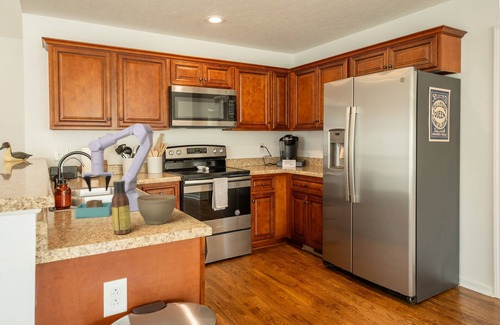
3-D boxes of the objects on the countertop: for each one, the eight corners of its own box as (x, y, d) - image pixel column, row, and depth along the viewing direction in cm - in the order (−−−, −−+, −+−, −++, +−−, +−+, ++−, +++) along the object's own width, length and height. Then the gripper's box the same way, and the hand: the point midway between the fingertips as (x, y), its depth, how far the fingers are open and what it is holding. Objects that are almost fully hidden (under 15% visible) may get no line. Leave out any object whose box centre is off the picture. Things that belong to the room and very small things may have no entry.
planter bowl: (136, 228, 136) (135, 201, 135) (138, 219, 152) (137, 194, 151) (177, 225, 140) (177, 199, 140) (175, 217, 156) (175, 193, 155)
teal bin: (112, 211, 168) (111, 202, 168) (109, 216, 157) (108, 206, 156) (81, 213, 164) (80, 203, 164) (75, 218, 153) (75, 208, 153)
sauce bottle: (133, 230, 132) (131, 179, 131) (127, 235, 126) (126, 181, 125) (115, 230, 132) (114, 179, 131) (109, 235, 126) (108, 181, 124)
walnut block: (102, 212, 163) (102, 199, 162) (96, 214, 158) (96, 201, 157) (92, 212, 163) (92, 199, 163) (86, 214, 158) (86, 201, 158)
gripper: (114, 163, 177) (114, 189, 178) (83, 163, 173) (84, 190, 174) (112, 164, 170) (113, 191, 171) (80, 164, 167) (81, 192, 167)
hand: (98, 190), depth 172 cm, fingers open, 7 cm apart
